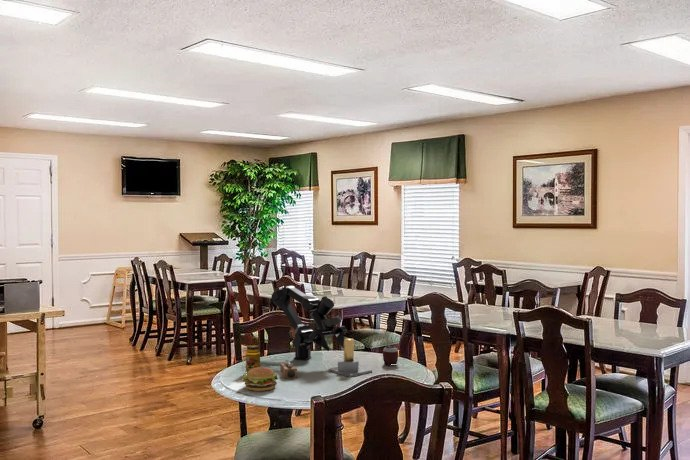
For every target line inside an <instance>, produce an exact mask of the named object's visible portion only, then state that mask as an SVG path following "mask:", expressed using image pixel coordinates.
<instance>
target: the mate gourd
mask: <svg viewBox="0 0 690 460" xmlns="http://www.w3.org/2000/svg"><path fill="white" fill-rule="evenodd" d="M383 332H384V334H385V336H386V340H387V345H388V346H385V347H384V348H383V351H382V360H383V365H384V364H388V365H387V367H391V366H392V365H391V364H397V365H398V360H399V351H398V348H397V347H396V346H392V345H390V339H389V336H388V333H387V332H386V331H385V330H383ZM390 365H391V366H390Z"/></svg>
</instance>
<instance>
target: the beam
mask: <svg viewBox="0 0 690 460" xmlns="http://www.w3.org/2000/svg"><path fill="white" fill-rule="evenodd" d="M289 362H290V361H289ZM290 363H291V364H292V368H289V367H288V366H287V364H286V363H285V362H280V368H279V370H280V374H281V375H282V376H283V378H284V379H285V380H288V379H289V380H290V379H298V368H297V367H296V366H295V364H294V363H293V362H290Z"/></svg>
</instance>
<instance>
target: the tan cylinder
mask: <svg viewBox="0 0 690 460" xmlns="http://www.w3.org/2000/svg"><path fill="white" fill-rule="evenodd" d="M354 344H355V339H354V338H344V348H343V361H355V357H354V351H355V345H354Z"/></svg>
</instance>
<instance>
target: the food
mask: <svg viewBox="0 0 690 460" xmlns="http://www.w3.org/2000/svg"><path fill="white" fill-rule="evenodd" d="M241 380H242V382H244V385H245V388H246V390H248V389H249V391H251V390H254V391H253V392H266V391H265V390H267V391H271V390H273V389H275V388H276V385H277V384H278V382H277V380H279V377H278V375H277V374H275V371H274V370H273V369H271V368H269V367H266V366H265V367H264V366H260V367H257V368H253V369H251V370H249V371H248V372H247V375H246V374H245V373H244V374H243V376H242V377H241Z"/></svg>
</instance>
